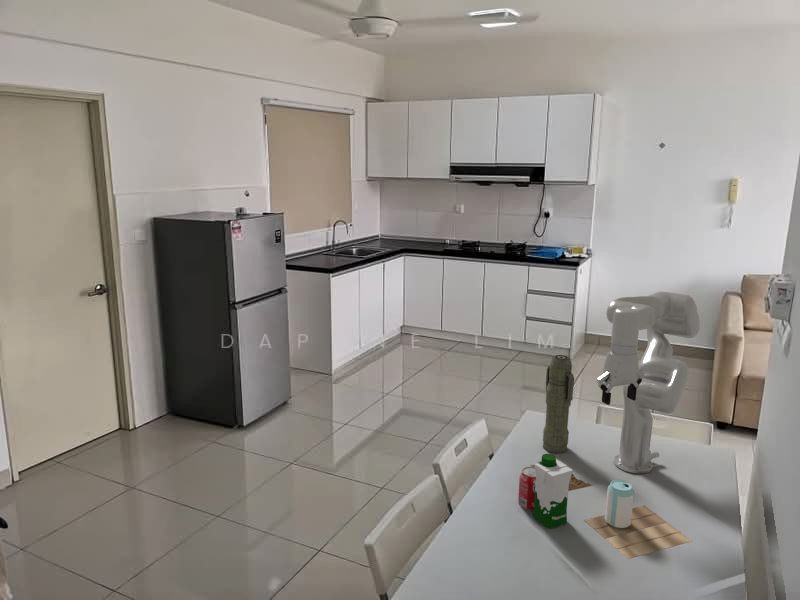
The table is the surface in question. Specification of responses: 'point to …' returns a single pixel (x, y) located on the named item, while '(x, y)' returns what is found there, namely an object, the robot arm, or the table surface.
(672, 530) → the oak board
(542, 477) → the milk carton
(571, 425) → the table surface
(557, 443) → the thermos
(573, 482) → the wooden fragment
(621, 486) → the can
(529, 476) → the soda can
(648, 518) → the plank
